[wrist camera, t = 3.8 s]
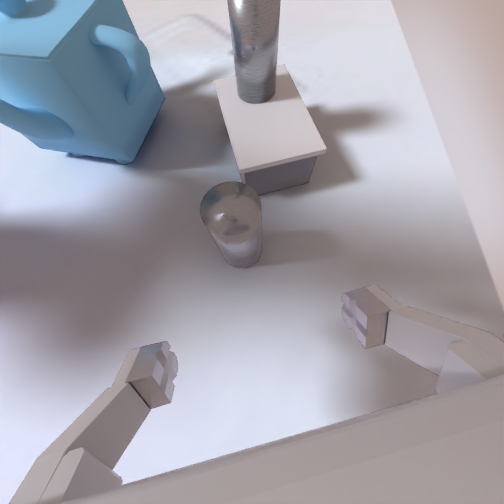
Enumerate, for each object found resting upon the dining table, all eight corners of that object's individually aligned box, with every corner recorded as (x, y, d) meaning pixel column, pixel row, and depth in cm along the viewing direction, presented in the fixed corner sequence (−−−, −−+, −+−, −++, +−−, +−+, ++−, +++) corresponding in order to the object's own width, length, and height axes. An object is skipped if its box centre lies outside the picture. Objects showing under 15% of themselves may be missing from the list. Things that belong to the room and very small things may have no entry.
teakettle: (195, 144, 29) (131, -24, 15) (67, 210, 26) (-158, 80, 12) (144, 76, 34) (64, -92, 20) (36, 123, 32) (-141, -32, 18)
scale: (221, 123, 30) (213, 80, 24) (280, 109, 30) (284, 64, 25) (244, 202, 25) (239, 169, 20) (313, 184, 25) (326, 148, 20)
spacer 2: (215, 250, 23) (187, 208, 15) (242, 225, 24) (231, 171, 15) (242, 276, 22) (229, 247, 13) (269, 248, 23) (273, 205, 14)
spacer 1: (229, 92, 23) (211, -39, 15) (256, 73, 24) (252, -61, 16) (256, 109, 22) (253, -22, 14) (283, 89, 23) (295, -46, 15)
